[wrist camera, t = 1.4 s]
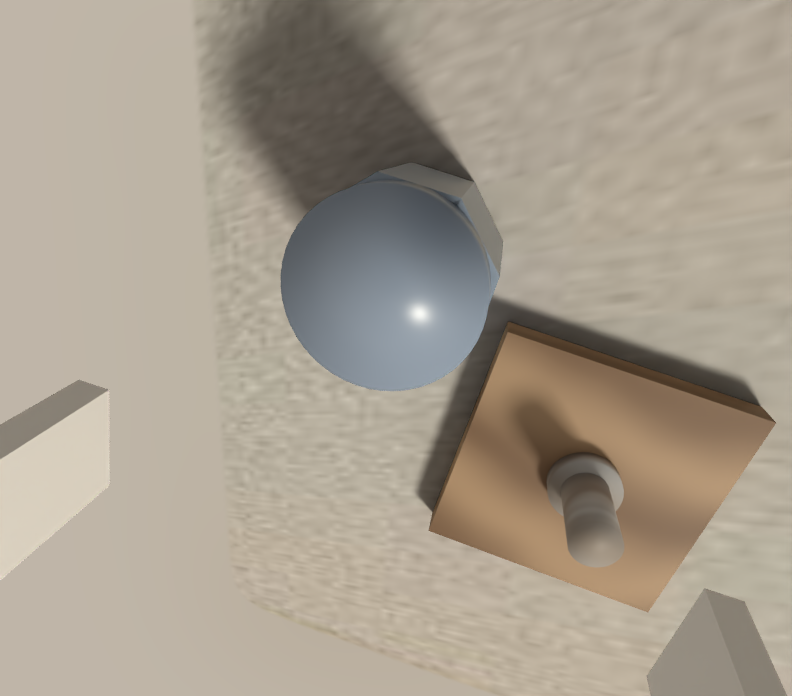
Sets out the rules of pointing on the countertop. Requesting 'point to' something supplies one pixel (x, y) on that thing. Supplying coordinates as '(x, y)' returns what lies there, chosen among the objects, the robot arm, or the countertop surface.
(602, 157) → the countertop surface
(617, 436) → the brown wooden square board
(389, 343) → the cap
